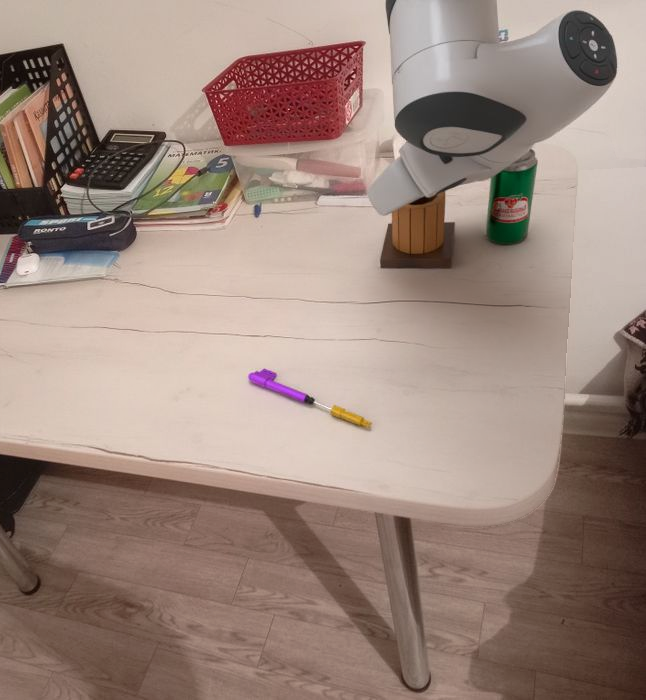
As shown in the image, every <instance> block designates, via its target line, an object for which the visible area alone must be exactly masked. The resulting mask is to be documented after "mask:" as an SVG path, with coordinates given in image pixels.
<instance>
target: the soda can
mask: <svg viewBox="0 0 646 700" xmlns="http://www.w3.org/2000/svg"><path fill="white" fill-rule="evenodd" d="M538 162H539V160H538V157H536V152H535V150H534V149H533V148H531V149H530V151H528V152H527V153H526V154H525V155H524V156H523V157H521V158H520V159H518V160H517V161H515V162H514V163H512V164H511V165H509V166H508V167H506V168H505V169H504V170H502V171H501V172H499V173H498V174H496V175H495V176H493V177H492V178H490V181H489V191H488V192H489V193H488V203H487V214H486V225H485V235H486V237H487V238H488V239H489V240H490V241H491V242H492V243H495V244H498V245H513V244H514V245H515V244H518V243H519V242H521V241H523V240H524V239H525V238H526V237H528V235H529V234H528V232H529V227H530V221H531V213H532V212H531V211H532V207H533V206H532V205H533V204H532V203H533V199H534V191H535V186H536V185H535V184H536V177H537V169H538Z"/></svg>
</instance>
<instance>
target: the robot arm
mask: <svg viewBox="0 0 646 700" xmlns="http://www.w3.org/2000/svg"><path fill="white" fill-rule="evenodd" d="M385 14H386V20H387V27H388V34H389V44H390V45H389V47H390V67H391V68H390V69H391V71H390V73H391V86H392V100H393V101H392V103H393V119H394V128H395V130H396V132H397V133H398V134H399V136H400V137H402V138H403V140H405V141H406V142H405V143H404V144H402V146H401V147H400V148H399V150H398V153H399V155H400V156H398V157H397V158H396V159H394V160H393V161H392V162H391V163H390V164H389V165H388V166H387V167H386V168H385V169H384V170H383V171H382V172H381V173H380V175H378V176H377V178H376V179H375V180H374V181H373V182H372V184H371V185H370V186H369V187H368V189H367V193H366V194H367V198H368V201H369V202H370V204H371V205H372V207H373V209H374V211H375V212H376V214H378V215H379V216H380V217H381V216H382V217H386V216H388V215H390V214H392V212H394V211H396V210H398V209H400V208H402V207H404V206H406V205H407V204H409V203H411V202H413V201H415V200H417V199H419V198H422V197H424V196H426V197H427V198H430V197H432V196H434V195H436V194H437V195H438V194H440V193H442V192H444V191H445V192H447V191H448V190H451V189H454V188H457V187H459V186H463V185H467V184H472V183H475V182H483V181H486V180H489V179H491V178H492V177H493V176H495V175H496V174H498V173H499V172H501V171H502V170H504V169H505V168H506V167H508V166H509V165H511V164H512V163H514V162H515V161H517V160H518V159H520V158H521V157H523V156H524V155H525V154H526V153H527V152H528V151H530V149H533V147H534V146H535V145H536V144H538V143H541V142H544V141H546V140H548V139H550V138H553V136H555V135H556V134H558V133H559V132H560V131H562V130H563V129H565V128H566V127H568V126H569V125H570V124H572V123H573V122H575V121H576V120H577V119H578V118H580V117H581V116H582V115H584V113H586V112H587V111H589V110H590V109H591V108H592V107H593V106H594V105H595V104H596V103H597V102H598V101H599V100H600V99H601V98H602V97H603V96H604V95H605V94H606V93H607V91H608V90H609V89H610V88H611V87H612V84H613V83H614V81H615V79H616V77H617V74H618V57H617V55H618V54H617V49H616V45H615V41H614V39H613V38H614V37H613V35H612V34H611V33H610V31H609V29H608V28H607V26H605V25H604V23H603V22H602V21H601V20H600V19H599V18H597V17H596V16H595V15H593V14H591V13H589V12H587V11H584V10H579V9H573V10H569V11H567V12H565V13H562V14H561V15H559V16H557V17H555V18H554V19H551V21H549V22H548V23H546V24H545V25H543V26H542V27H541V28H539V29H538V30H537V31H536V32H534V33H531V34H529V35H527V36H524V37H521V38H518V39H514V40H510V41H506V42H505V41H504V42H500V41H501V40H500V30H499V15H498V1H497V0H385Z"/></svg>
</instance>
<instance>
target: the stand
mask: <svg viewBox="0 0 646 700" xmlns="http://www.w3.org/2000/svg"><path fill="white" fill-rule="evenodd" d="M426 203H429V198H427V197H426V196H424V197H422V198H419V199H417V200H415V201H413V202H411V203H409V204H410V205H423V204H426ZM386 227H387V228H386V232H385V237H384V240H383V245H382V250H381V253H380V257H379V264H380V265H379V266H380V268H381V269H451V268H452V263H453V252H454V243H455V241H454V240H455V233H456V232H455V230H456V222H455V221H446V222H445V221H444V242H443V244H442V245H440V246H439V247H438V248H437V249H436V250H433V251H430V252H427V253H424V252H423V254H411V253H410V254H409V253H405V252H402V251H400V250H398V249H397V248H396V247H395V246H394V245H393V242H392V222H391V223H390V222H389V223H387V226H386Z"/></svg>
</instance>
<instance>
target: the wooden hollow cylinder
mask: <svg viewBox="0 0 646 700" xmlns="http://www.w3.org/2000/svg"><path fill="white" fill-rule="evenodd" d="M445 215H446V191H444V192H442V193H440V194H438V195H437V194H436V195H434V196H432V197H430V198H429V203H426V204H423V205H410V204H407V205H406V206H404V207H402V208H400V209H398V210H396V211H394V212H392V213H391V223H392V242H393V245H394V246H395V247H396V248H397V249H398V250H400V251H402V252H405V253H409V254H410V253H411V254H423V252H424V253H427V252H430V251H433V250H436V249H437V248H438V247H439V246H440V245H442V244H443V242H444V222H445V221H446V220H445V219H446V218H445V217H446V216H445Z"/></svg>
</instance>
